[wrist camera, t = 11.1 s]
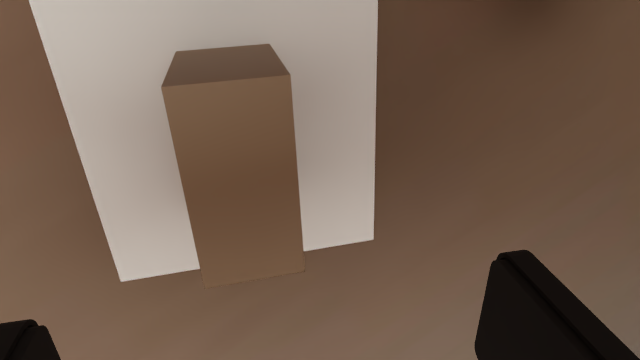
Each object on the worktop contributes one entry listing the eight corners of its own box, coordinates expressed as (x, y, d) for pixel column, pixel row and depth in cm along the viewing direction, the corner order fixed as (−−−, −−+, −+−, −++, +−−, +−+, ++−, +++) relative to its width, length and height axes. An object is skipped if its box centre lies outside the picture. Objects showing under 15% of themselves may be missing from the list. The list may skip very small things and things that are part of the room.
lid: (369, -51, 19) (444, -57, 13) (367, 228, 26) (415, 312, 20) (29, -35, 17) (-80, -33, 11) (125, 267, 24) (93, 377, 18)
